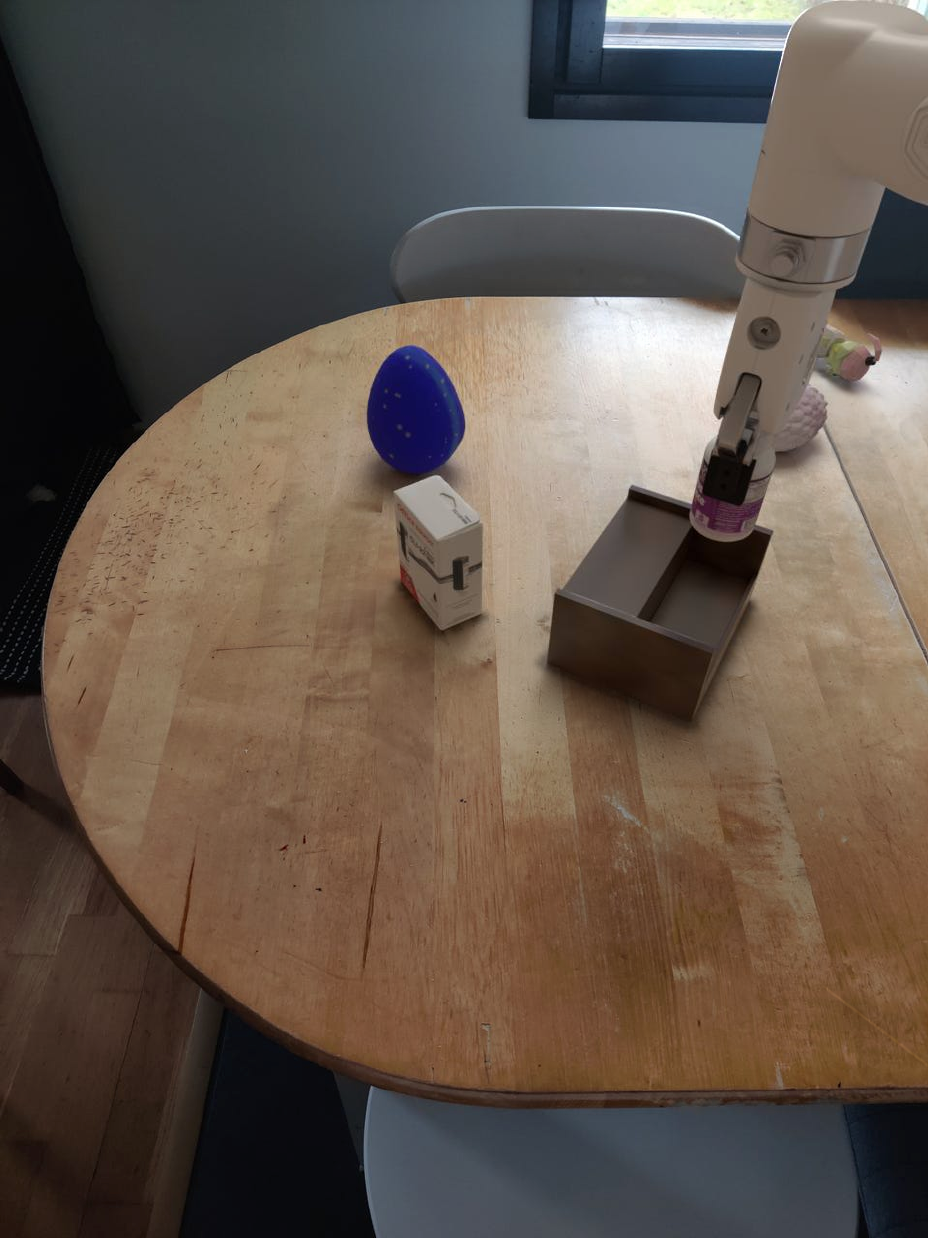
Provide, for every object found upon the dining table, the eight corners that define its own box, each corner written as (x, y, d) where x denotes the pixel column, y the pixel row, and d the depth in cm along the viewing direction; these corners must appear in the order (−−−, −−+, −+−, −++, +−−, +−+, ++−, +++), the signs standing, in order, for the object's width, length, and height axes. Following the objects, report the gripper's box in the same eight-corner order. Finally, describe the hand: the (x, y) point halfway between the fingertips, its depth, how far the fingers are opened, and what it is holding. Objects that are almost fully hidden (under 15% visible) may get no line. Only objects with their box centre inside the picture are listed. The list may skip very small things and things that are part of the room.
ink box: (398, 580, 87) (391, 487, 79) (440, 564, 89) (438, 470, 80) (440, 633, 82) (437, 539, 74) (483, 614, 84) (486, 520, 75)
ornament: (475, 461, 101) (477, 344, 91) (430, 501, 96) (426, 382, 85) (401, 431, 106) (394, 316, 95) (353, 468, 100) (341, 350, 90)
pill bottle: (680, 504, 72) (704, 404, 65) (742, 501, 72) (772, 401, 65) (697, 546, 68) (724, 444, 61) (762, 543, 69) (796, 442, 62)
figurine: (759, 336, 119) (832, 394, 110) (789, 286, 115) (868, 341, 106) (797, 344, 124) (870, 400, 115) (828, 296, 120) (906, 349, 111)
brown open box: (750, 599, 85) (773, 530, 79) (691, 722, 75) (713, 654, 68) (619, 553, 90) (631, 484, 84) (546, 662, 80) (554, 593, 73)
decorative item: (853, 406, 101) (816, 352, 95) (800, 484, 101) (760, 435, 95) (792, 397, 108) (755, 346, 103) (743, 469, 108) (703, 423, 103)
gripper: (829, 313, 48) (749, 556, 61) (888, 209, 58) (810, 436, 71) (699, 283, 50) (649, 523, 63) (778, 189, 60) (721, 411, 73)
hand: (735, 475), depth 67 cm, fingers closed on pill bottle, 5 cm apart
